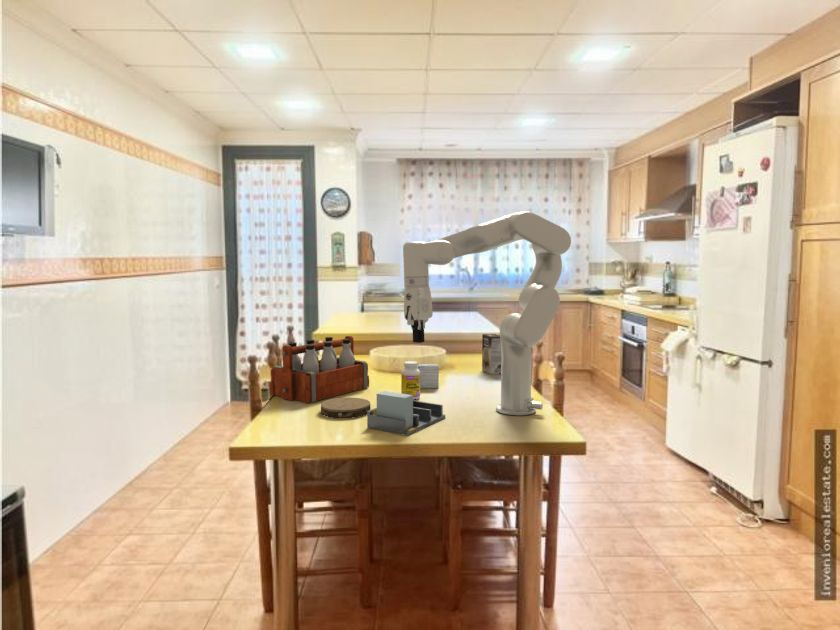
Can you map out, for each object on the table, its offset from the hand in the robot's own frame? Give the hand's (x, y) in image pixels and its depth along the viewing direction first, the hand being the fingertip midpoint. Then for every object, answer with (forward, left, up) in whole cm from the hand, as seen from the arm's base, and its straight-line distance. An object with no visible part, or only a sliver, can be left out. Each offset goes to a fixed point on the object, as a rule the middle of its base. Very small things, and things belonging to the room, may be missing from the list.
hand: (418, 342), depth 179 cm
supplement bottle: (+15, -19, -24) cm, 34 cm away
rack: (-1, +7, -24) cm, 25 cm away
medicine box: (+19, -37, -24) cm, 48 cm away
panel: (-1, +14, -23) cm, 26 cm away
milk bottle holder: (+49, -9, -24) cm, 56 cm away
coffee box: (+11, -77, -24) cm, 81 cm away
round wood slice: (+23, +7, -24) cm, 34 cm away
